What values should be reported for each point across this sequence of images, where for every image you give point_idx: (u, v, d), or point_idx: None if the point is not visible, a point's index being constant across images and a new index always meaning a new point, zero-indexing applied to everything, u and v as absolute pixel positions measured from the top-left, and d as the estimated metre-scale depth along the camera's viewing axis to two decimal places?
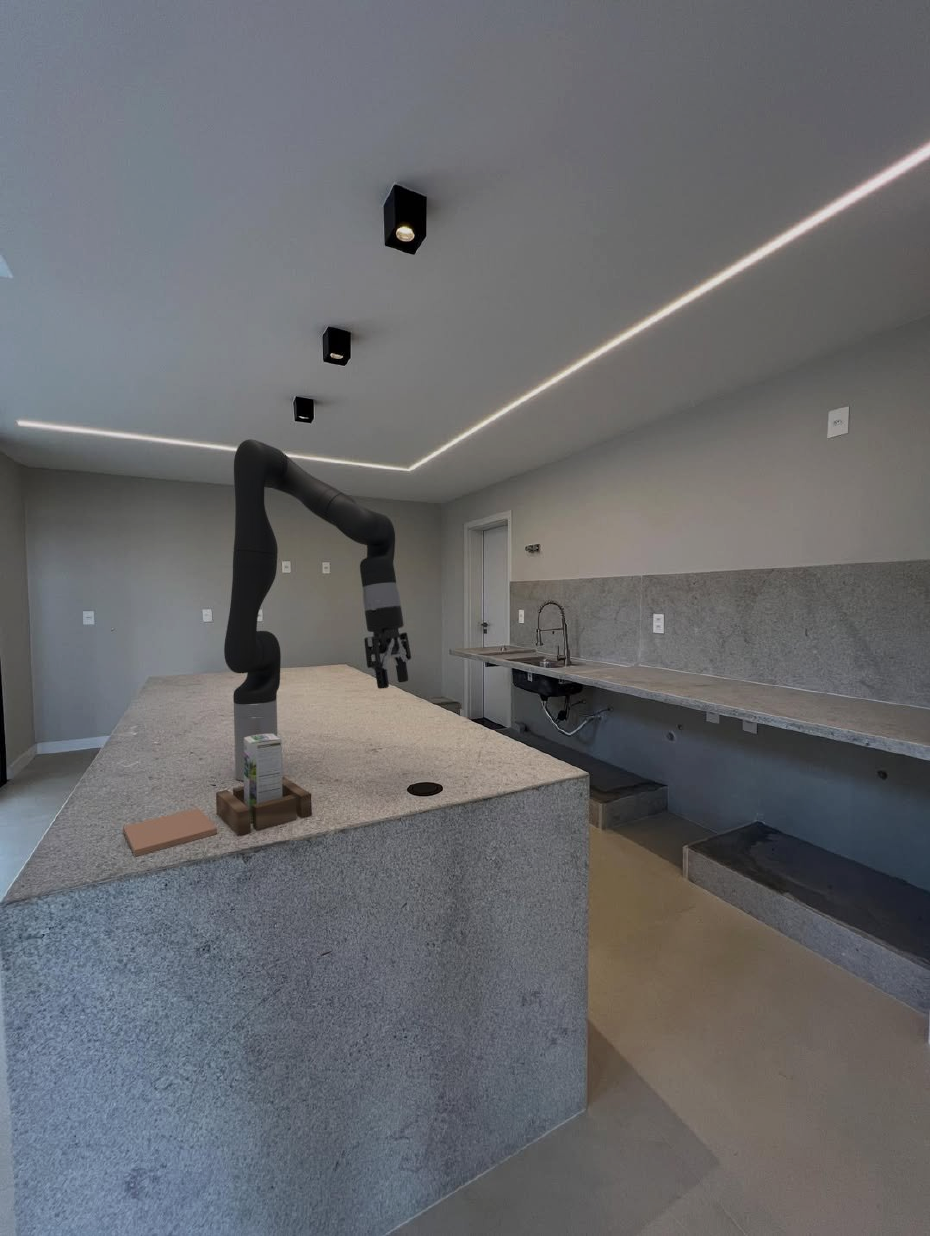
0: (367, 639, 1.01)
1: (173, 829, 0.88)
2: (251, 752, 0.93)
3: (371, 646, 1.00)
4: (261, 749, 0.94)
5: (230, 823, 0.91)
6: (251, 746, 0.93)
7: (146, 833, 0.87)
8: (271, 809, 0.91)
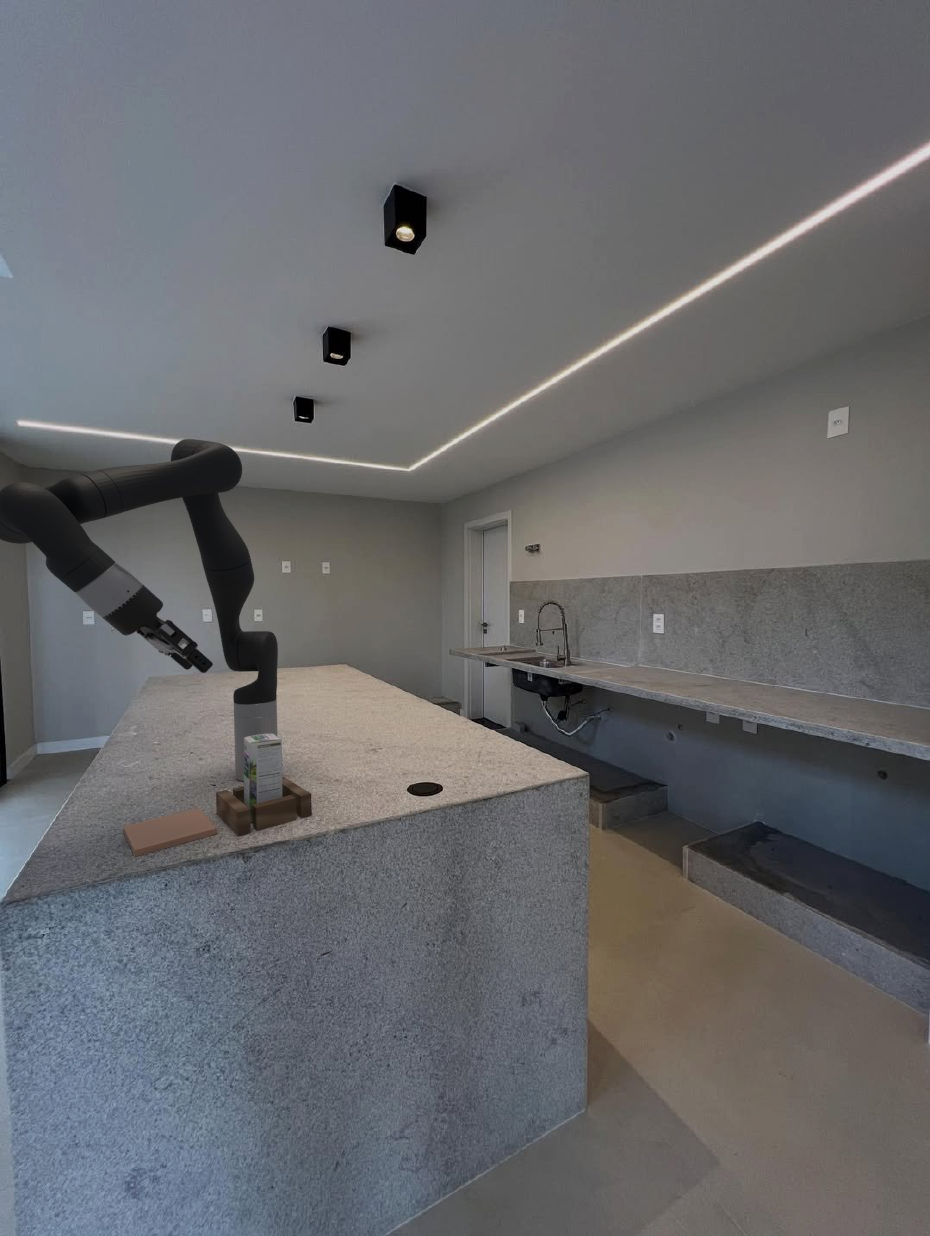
0: None
1: (173, 829, 0.88)
2: (251, 752, 0.93)
3: None
4: (261, 749, 0.94)
5: (230, 823, 0.91)
6: (251, 746, 0.93)
7: (146, 833, 0.87)
8: (271, 809, 0.91)
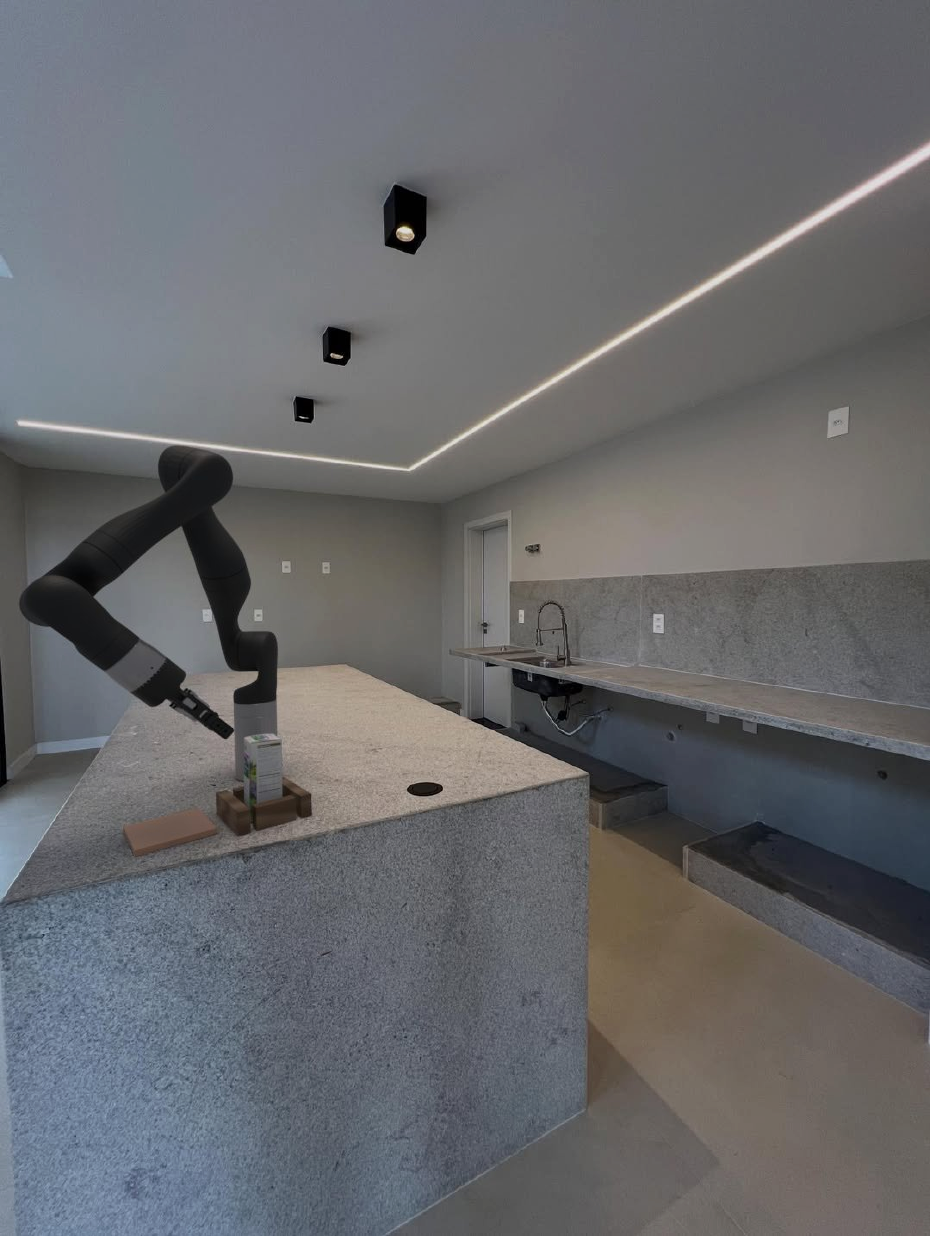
0: None
1: (173, 829, 0.88)
2: (251, 752, 0.93)
3: None
4: (261, 749, 0.94)
5: (230, 823, 0.91)
6: (251, 746, 0.93)
7: (146, 833, 0.87)
8: (271, 809, 0.91)
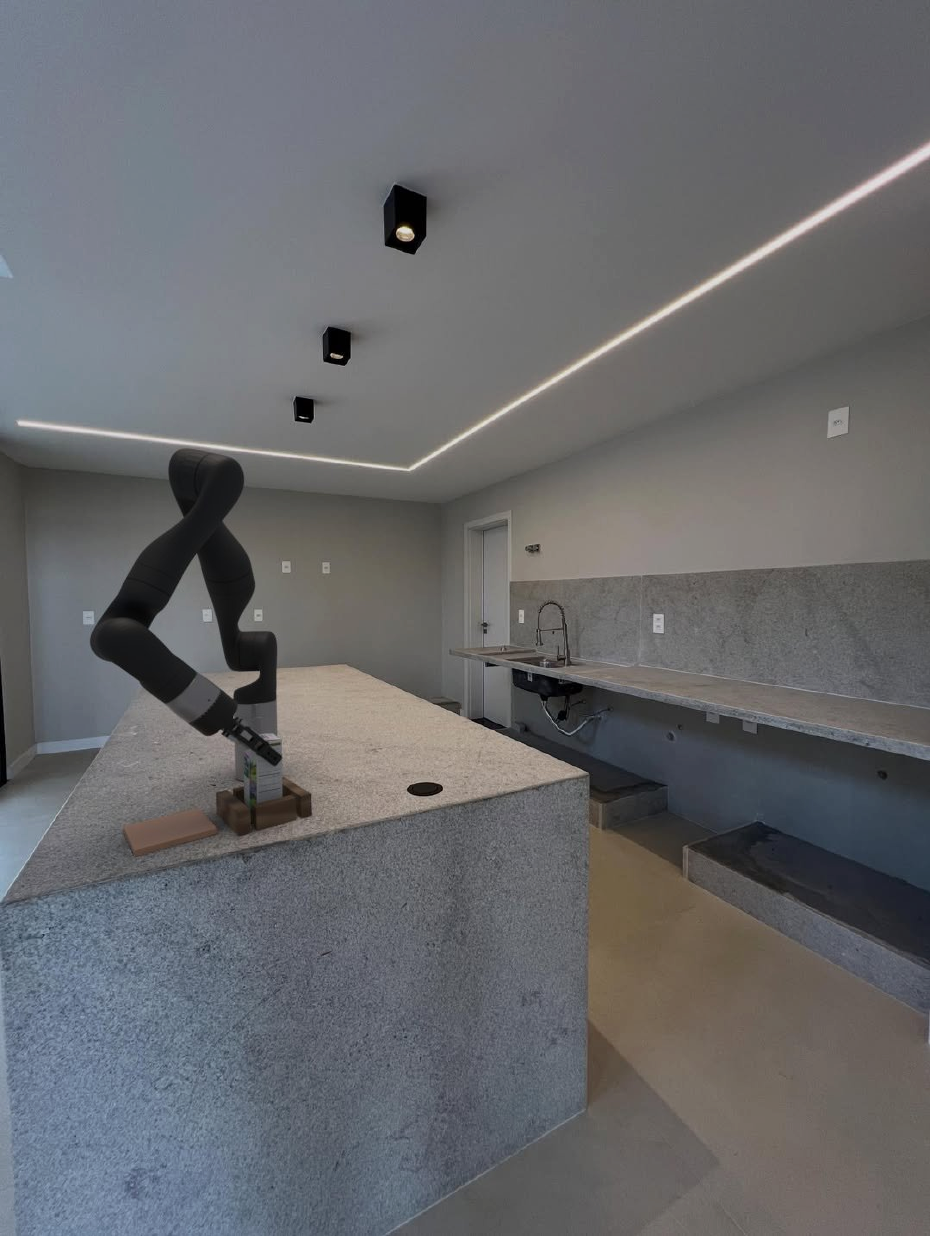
0: None
1: (173, 829, 0.88)
2: (251, 752, 0.93)
3: None
4: None
5: (230, 823, 0.91)
6: None
7: (146, 833, 0.87)
8: (271, 809, 0.91)
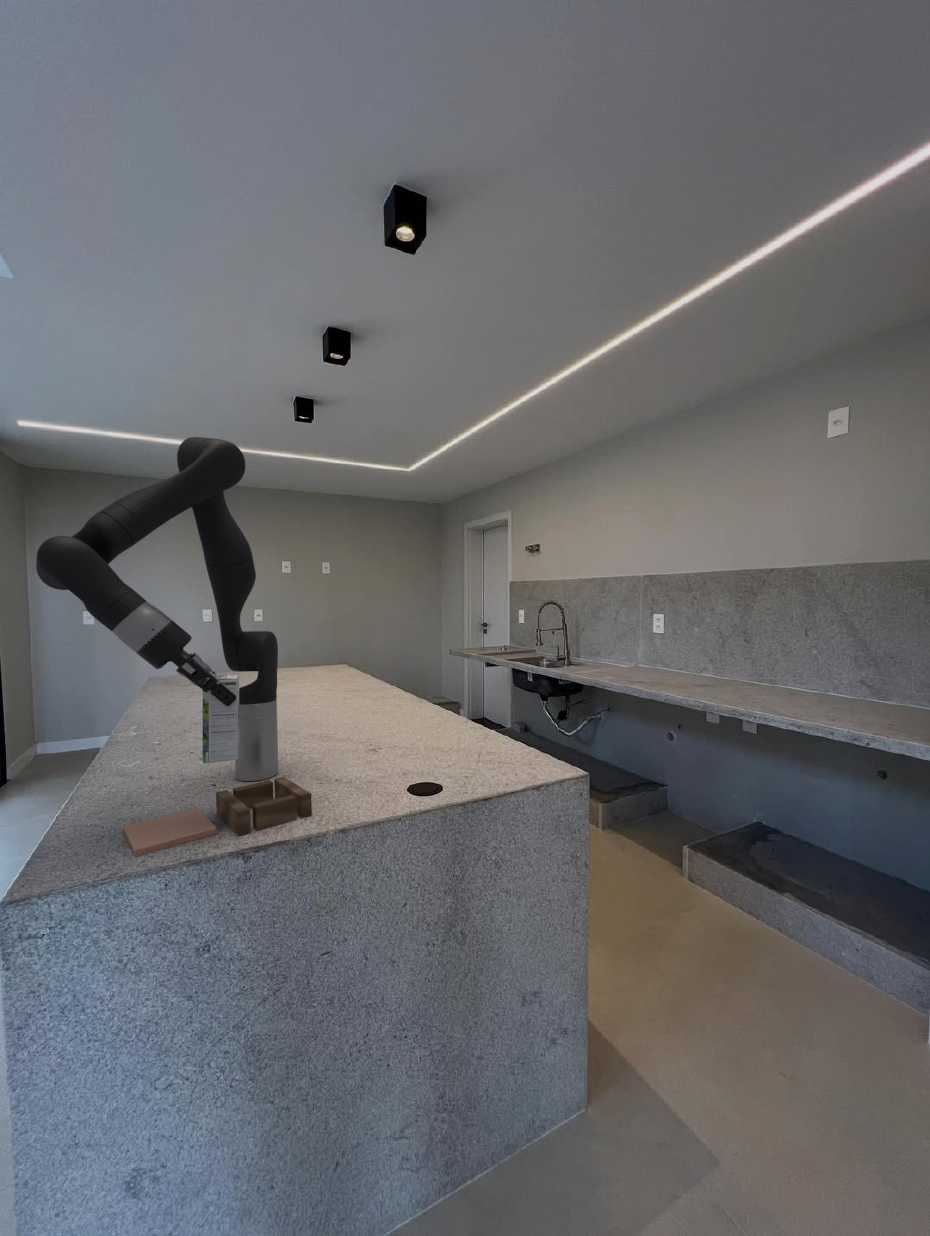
0: None
1: (173, 829, 0.88)
2: None
3: None
4: None
5: (230, 823, 0.91)
6: (203, 683, 0.88)
7: (146, 833, 0.87)
8: (271, 809, 0.91)
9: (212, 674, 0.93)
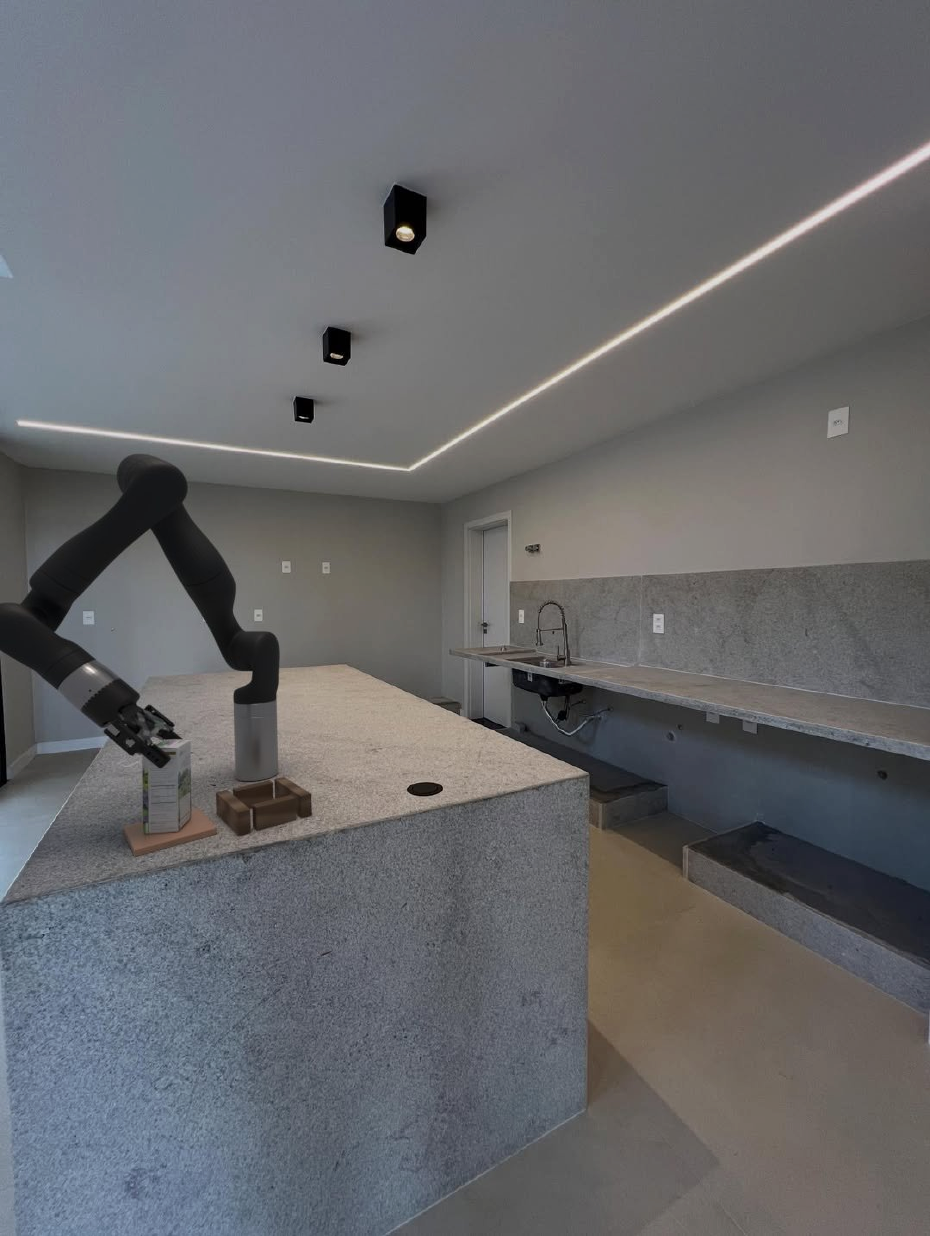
0: None
1: None
2: (142, 759, 0.86)
3: None
4: None
5: (230, 823, 0.91)
6: None
7: None
8: (271, 809, 0.91)
9: (165, 728, 0.92)
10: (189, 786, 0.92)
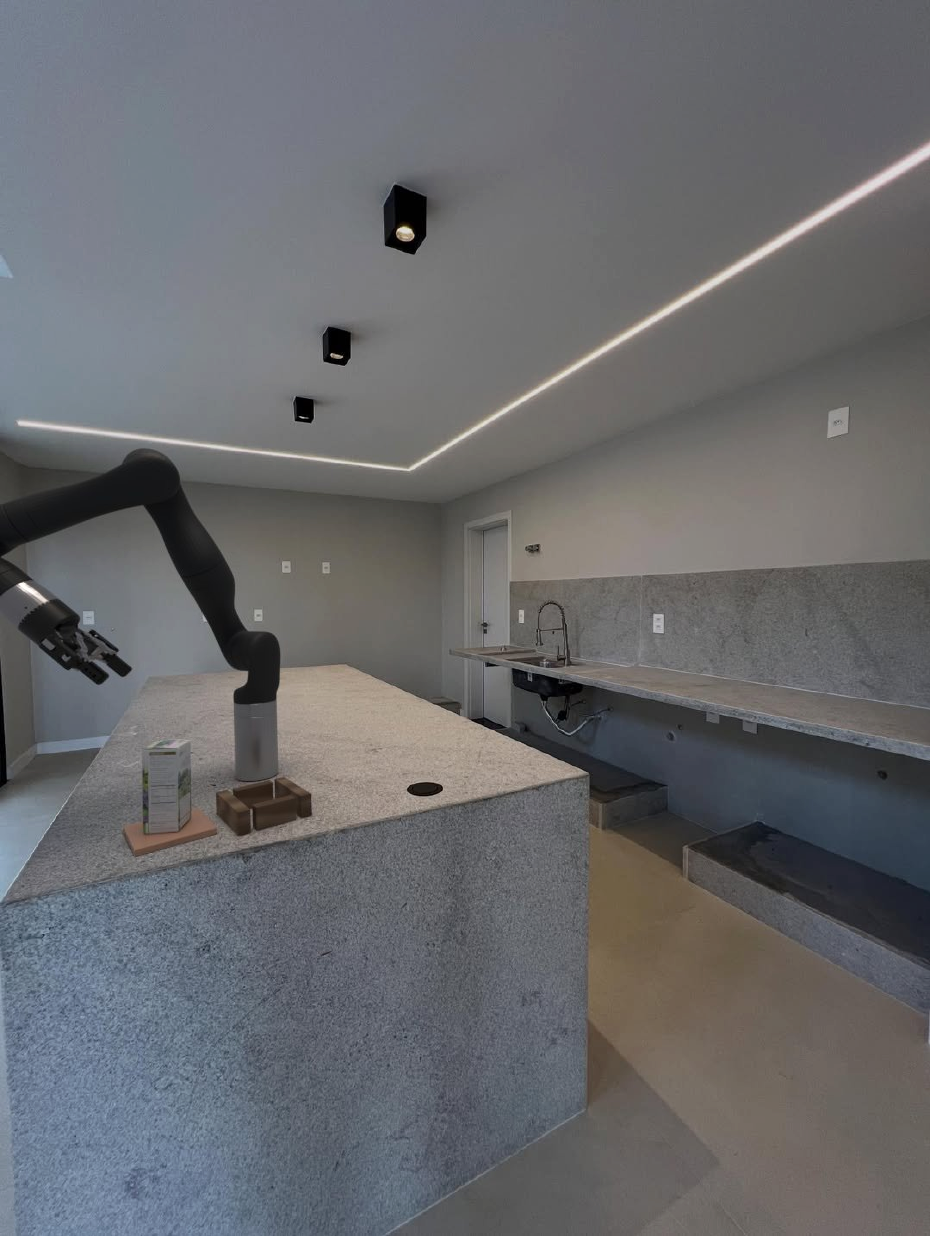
0: None
1: None
2: (142, 759, 0.86)
3: None
4: (153, 757, 0.86)
5: (230, 823, 0.91)
6: (143, 752, 0.86)
7: None
8: (271, 809, 0.91)
9: (107, 651, 0.93)
10: (189, 786, 0.92)
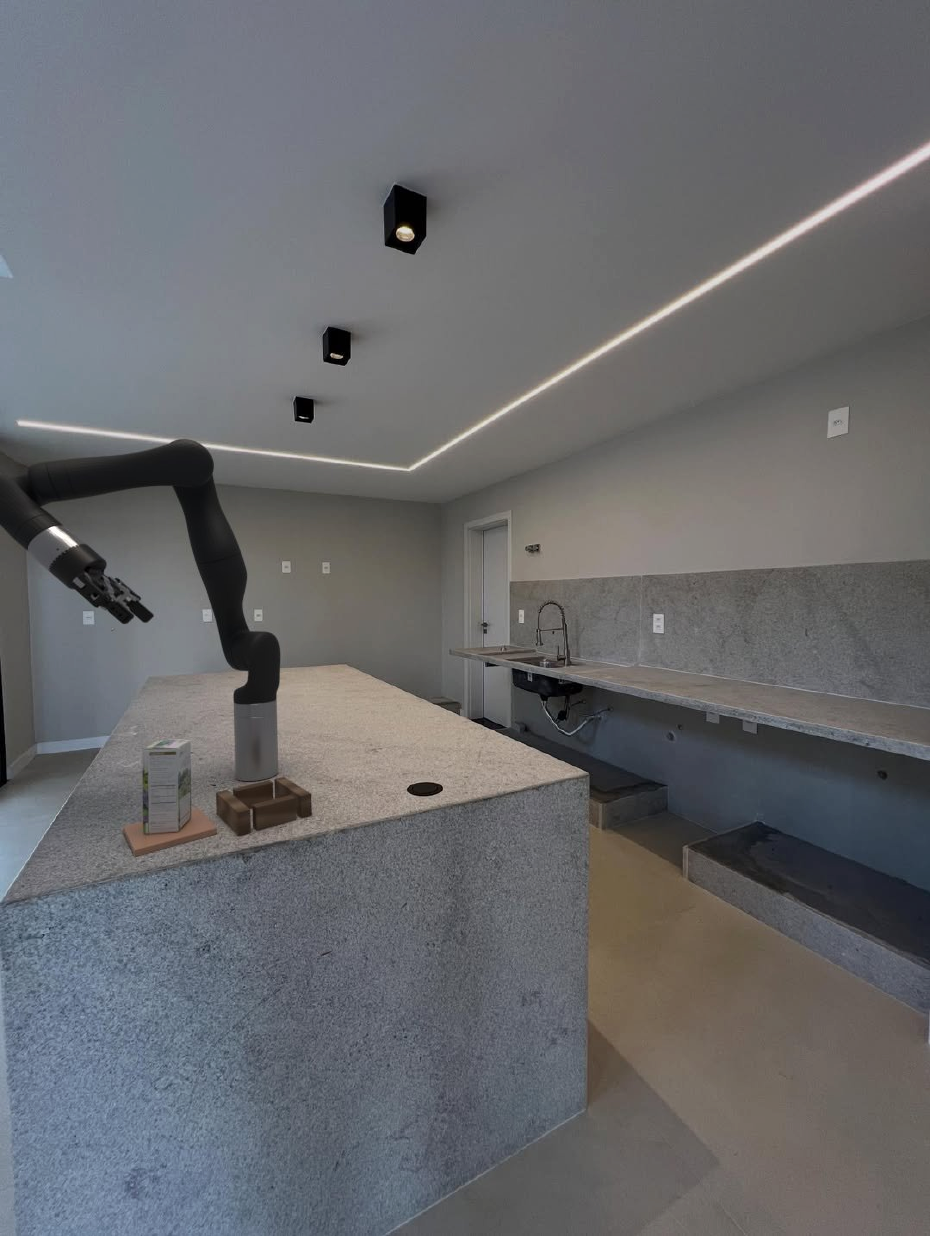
0: None
1: None
2: (143, 759, 0.86)
3: None
4: (153, 757, 0.86)
5: (230, 823, 0.91)
6: (143, 752, 0.86)
7: None
8: (271, 809, 0.91)
9: (131, 597, 0.98)
10: (189, 786, 0.92)
